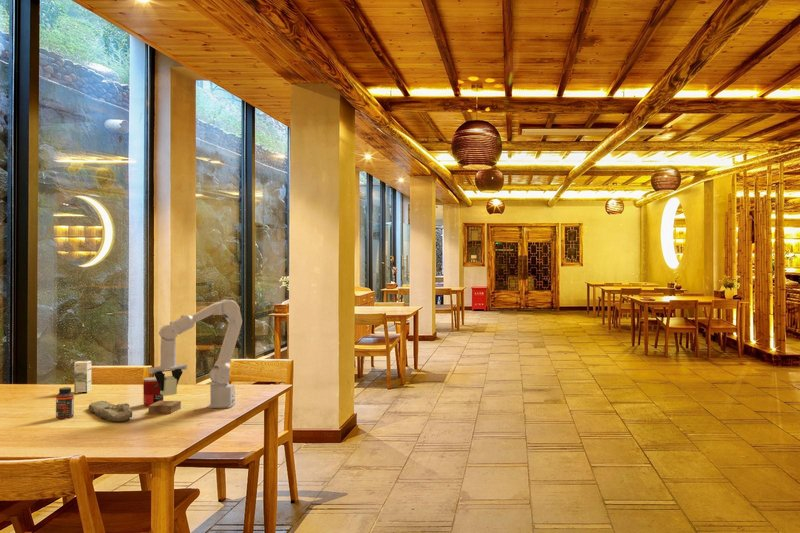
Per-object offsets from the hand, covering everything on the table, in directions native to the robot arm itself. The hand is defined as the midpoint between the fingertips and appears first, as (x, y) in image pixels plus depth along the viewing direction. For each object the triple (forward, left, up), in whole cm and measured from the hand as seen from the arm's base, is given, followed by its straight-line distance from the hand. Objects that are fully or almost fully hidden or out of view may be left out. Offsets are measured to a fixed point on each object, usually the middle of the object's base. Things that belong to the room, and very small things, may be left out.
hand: (168, 389), depth 234 cm
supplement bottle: (+36, +9, -9) cm, 38 cm away
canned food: (+12, -14, -9) cm, 21 cm away
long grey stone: (+22, +4, -10) cm, 24 cm away
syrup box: (+57, -40, -9) cm, 70 cm away
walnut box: (+2, -2, -9) cm, 10 cm away
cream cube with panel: (0, 0, -2) cm, 2 cm away
